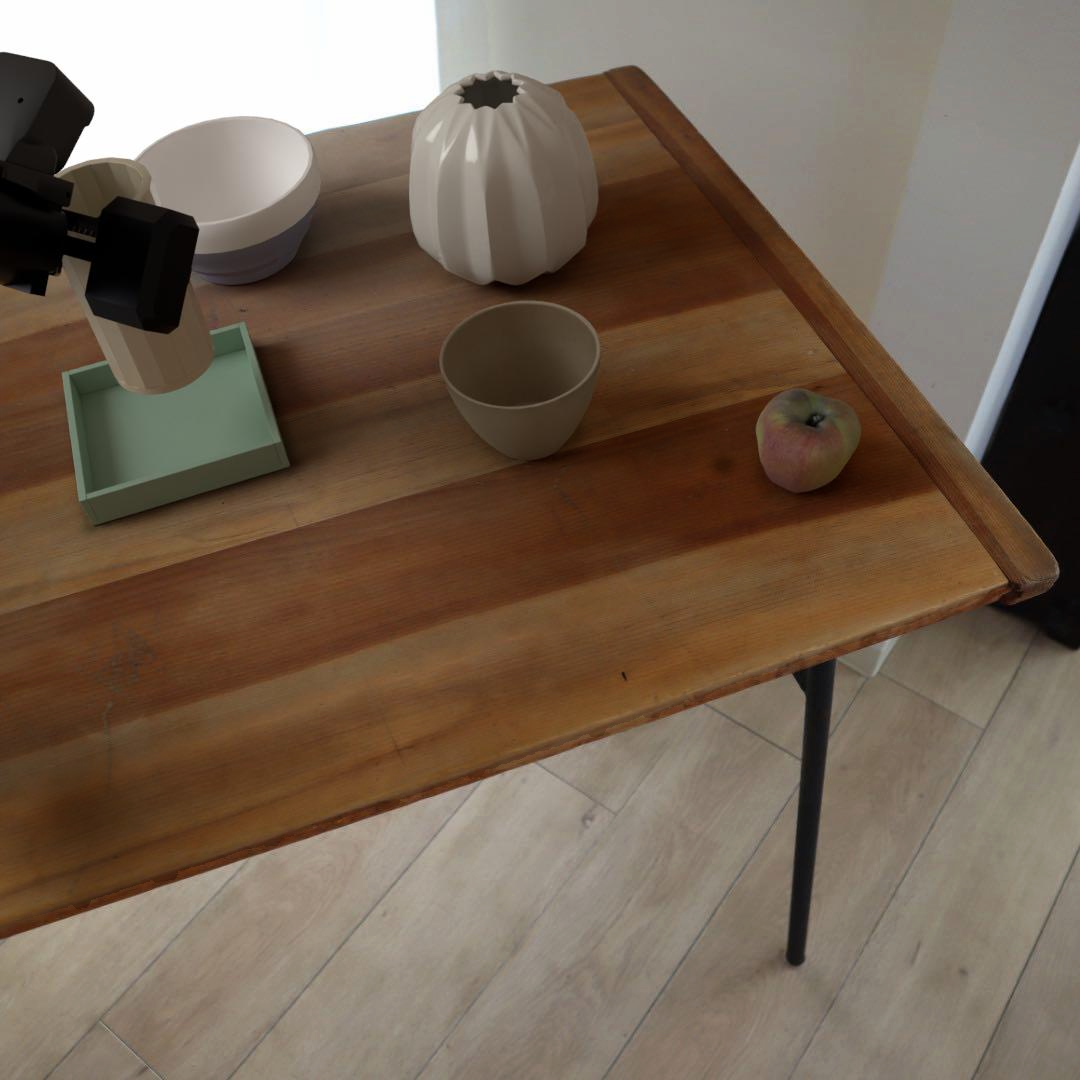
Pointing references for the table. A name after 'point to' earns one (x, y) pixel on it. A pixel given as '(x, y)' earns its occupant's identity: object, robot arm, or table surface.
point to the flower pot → (522, 375)
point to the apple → (806, 439)
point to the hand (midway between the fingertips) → (143, 262)
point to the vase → (501, 179)
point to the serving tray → (171, 432)
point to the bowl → (238, 192)
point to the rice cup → (128, 350)
